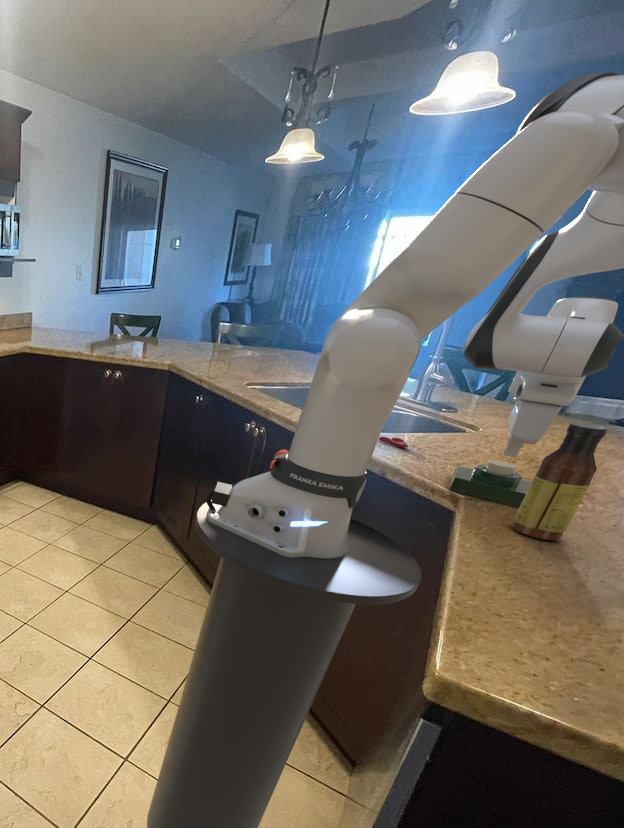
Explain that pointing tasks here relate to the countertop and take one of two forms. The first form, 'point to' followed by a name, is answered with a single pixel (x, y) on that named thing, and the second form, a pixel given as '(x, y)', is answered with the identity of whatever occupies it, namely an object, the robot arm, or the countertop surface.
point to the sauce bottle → (560, 484)
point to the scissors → (398, 443)
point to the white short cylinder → (500, 467)
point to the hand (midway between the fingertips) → (509, 454)
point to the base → (490, 485)
